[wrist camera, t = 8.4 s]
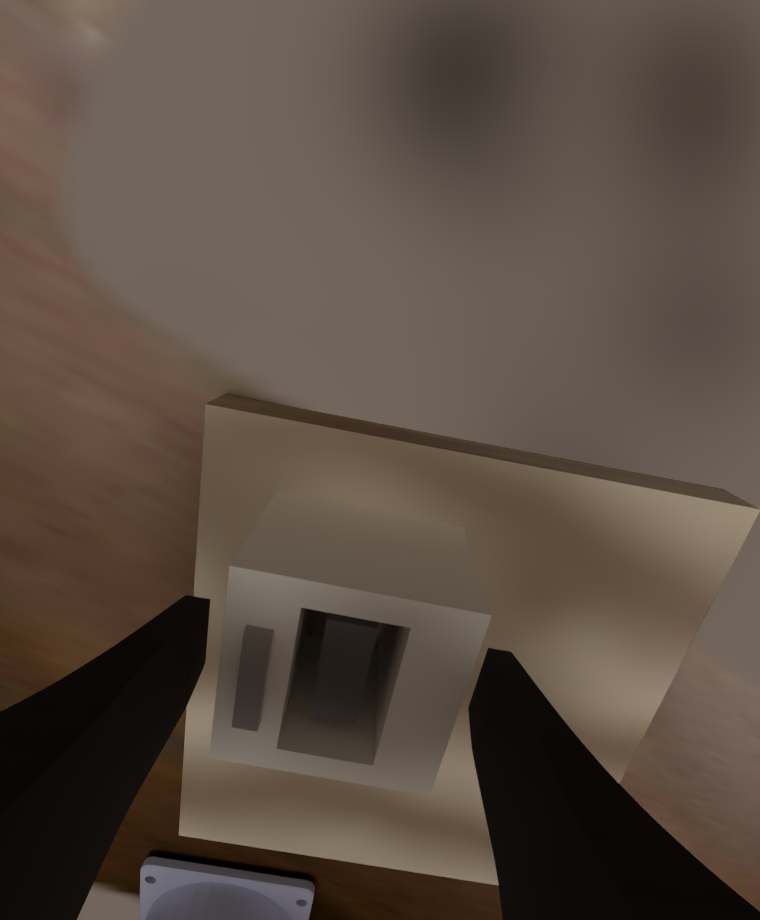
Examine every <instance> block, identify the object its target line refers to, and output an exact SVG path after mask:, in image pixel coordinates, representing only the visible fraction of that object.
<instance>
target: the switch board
mask: <svg viewBox="0 0 760 920" xmlns="http://www.w3.org/2000/svg"><path fill="white" fill-rule="evenodd" d="M277 491H281V492H286V493H291V494H296V495H301V496H306V497H311V498H316V499H321V500H326V501H331V502H336V503H342V504H347V505H352V506H357V507H362V508H367V509H372V510H377V511H382V512H387V513H392V514H397V515H402V516H408V517H413V518H418V519H423V520H428V521H433V522H438V523H443V524H448V525H453V526H458V527H463V528H464V530H465V533H466V536H467V540H468V543H469V546H470V549H471V552H472V555H473V558H474V561H475V564H476V567H477V571H478V574H479V577H480V580H481V583H482V586H483V589H484V592H485V595H486V598H487V602H488V605H489V608H490V611H491V614H492V617H491V620H490V623H489V625H488V628H487V631H486V634H485V637H484V640H483V643H482V646H481V649H480V652H479V655H478V657H477V660H476V663H475V666H474V669H473V672H472V675H471V678H470V681H469V684H468V687H467V689H466V692H465V695H464V698H463V701H462V704H461V707H460V710H459V713H458V716H457V719H456V721H455V724H454V727H453V730H452V733H451V736H450V739H449V742H448V745H447V748H446V751H445V753H444V756H443V759H442V762H441V765H440V768H439V771H438V774H437V777H436V780H435V783H434V785H433V788H432V791H431V794H430V796H426V795H420V794H414V793H408V792H403V791H397V790H391V789H385V788H380V787H374V786H368V785H362V784H356V783H351V782H345V781H339V780H333V779H327V778H322V777H316V776H310V775H304V774H299V773H293V772H287V771H281V770H275V769H270V768H264V767H258V766H252V765H246V764H241V763H235V762H229V761H223V760H217V759H212V758H209V754H210V744H211V735H212V726H213V716H214V707H215V698H216V688H217V679H218V670H219V660H220V651H221V642H222V632H223V623H224V614H225V604H226V595H227V586H228V576H229V567H230V564H231V563H232V561H233V560H234V558H235V556H236V555H237V553H238V552H239V550H240V549H241V547H242V545H243V544H244V542H245V541H246V539H247V538H248V536H249V534H250V533H251V531H252V530H253V528H254V527H255V525H256V523H257V522H258V520H259V519H260V517H261V516H262V514H263V512H264V511H265V509H266V508H267V506H268V505H269V503H270V501H271V500H272V498H273V497H274V495H275V494H276V492H277ZM759 512H760V509H759V508H757V507H755V506H753V505H751V504H750V503H748V502H746V501H744V500H742V499H740V498H739V497H737V496H734V495H733V494H731V493H729V492H728V491H726V490H724V489H718V488H714V487H708V486H703V485H697V484H693V483H687V482H682V481H676V480H672V479H667V478H661V477H656V476H651V475H646V474H640V473H635V472H630V471H624V470H619V469H614V468H609V467H604V466H598V465H593V464H587V463H583V462H578V461H572V460H567V459H562V458H556V457H551V456H546V455H541V454H536V453H530V452H525V451H520V450H514V449H509V448H504V447H499V446H494V445H488V444H483V443H478V442H473V441H467V440H462V439H457V438H452V437H447V436H441V435H436V434H431V433H426V432H420V431H415V430H410V429H405V428H399V427H394V426H389V425H384V424H378V423H373V422H368V421H363V420H358V419H352V418H347V417H341V416H337V415H331V414H326V413H321V412H316V411H311V410H305V409H300V408H295V407H290V406H284V405H279V404H274V403H269V402H263V401H258V400H253V399H248V398H243V397H237V396H232V395H227V394H224V395H222V396H220V397H218V398H216V399H214V400H213V401H211V402H209V403H207V404H205V420H204V436H203V452H202V469H201V485H200V501H199V517H198V533H197V549H196V565H195V581H194V596H195V597H200V598H206V599H210V610H209V623H208V636H207V648H206V661H205V665H204V668H203V670H202V672H201V675H200V677H199V679H198V682H197V684H196V687H195V689H194V691H193V693H192V696H191V698H190V700H189V702H188V704H187V710H186V727H185V743H184V759H183V775H182V791H181V807H180V823H179V835H180V836H186V837H193V838H199V839H206V840H212V841H218V842H225V843H231V844H237V845H244V846H250V847H257V848H263V849H269V850H276V851H282V852H289V853H295V854H301V855H308V856H314V857H321V858H327V859H333V860H340V861H346V862H352V863H359V864H365V865H372V866H378V867H384V868H391V869H397V870H404V871H410V872H416V873H423V874H429V875H435V876H442V877H448V878H455V879H461V880H467V881H474V882H480V883H487V884H493V885H499V884H498V878H497V872H496V866H495V860H494V855H493V850H492V845H491V840H490V836H489V831H488V826H487V821H486V816H485V812H484V807H483V802H482V797H481V793H480V788H479V783H478V778H477V773H476V768H475V763H474V758H473V753H472V745H471V735H470V723H469V711H468V707H469V704H470V701H471V698H472V695H473V692H474V689H475V686H476V683H477V680H478V677H479V674H480V671H481V668H482V665H483V662H484V659H485V656H486V653H487V650H488V648H492V649H498V650H504V651H510V652H512V653H513V655H514V656H515V657H516V659H517V660H518V661H519V662H520V664H521V665H522V666H523V668H524V669H525V670H526V672H527V673H528V674H529V676H530V677H531V678H532V680H533V681H534V682H535V684H536V685H537V686H538V688H539V689H540V690H541V692H542V693H543V694H544V696H545V697H546V698H547V699H548V701H549V702H550V703H551V705H552V706H553V707H554V709H555V710H556V711H557V712H558V714H559V715H560V716H561V717H562V719H563V720H564V721H565V722H566V724H567V725H568V726H569V727H570V729H571V730H572V731H573V732H574V733H575V735H576V736H577V737H578V738H579V739H580V741H581V742H582V743H583V744H584V745H585V746H586V748H587V749H588V750H589V751H590V752H591V753H592V754H593V756H594V757H595V758H596V759H597V760H598V761H599V763H600V764H601V765H602V766H603V767H604V768H605V769H606V770H607V771H608V773H609V774H610V775H611V776H612V777H613V778H614V779H615V780H616V781H617V782H618V783H620V781H621V779H622V777H623V776H624V774H625V772H626V770H627V768H628V766H629V764H630V762H631V760H632V758H633V756H634V754H635V752H636V750H637V748H638V746H639V744H640V743H641V741H642V739H643V737H644V735H645V733H646V731H647V729H648V727H649V725H650V723H651V721H652V719H653V717H654V715H655V713H656V712H657V710H658V708H659V706H660V704H661V702H662V700H663V698H664V696H665V694H666V692H667V690H668V688H669V686H670V684H671V682H672V680H673V679H674V677H675V675H676V673H677V671H678V669H679V667H680V665H681V663H682V661H683V659H684V657H685V655H686V653H687V651H688V649H689V647H690V646H691V644H692V642H693V640H694V638H695V636H696V633H697V632H698V630H699V628H700V626H701V624H702V622H703V620H704V618H705V616H706V615H707V613H708V611H709V609H710V607H711V605H712V602H713V601H714V599H715V597H716V595H717V593H718V591H719V589H720V587H721V585H722V583H723V582H724V580H725V577H726V576H727V574H728V572H729V570H730V568H731V566H732V564H733V562H734V560H735V558H736V556H737V554H738V552H739V550H740V549H741V547H742V545H743V543H744V540H745V539H746V537H747V535H748V533H749V531H750V529H751V527H752V525H753V523H754V521H755V519H756V517H757V516H758V514H759ZM383 627H384V623H381V622H375V621H370V620H365V619H359V618H354V617H349V616H343V615H338V614H333V613H327V612H322V611H317V610H311V614H310V620H309V625H308V630H307V635H309V636H315V637H320V638H323V643H322V648H321V654H320V659H319V665H318V670H317V676H316V681H315V687H314V692H313V698H312V703H311V709H310V714H309V717H312V718H318V719H324V720H330V721H336V722H342V723H348V724H354V725H356V724H357V719H358V715H359V710H360V706H361V702H362V697H363V693H364V689H365V684H366V680H367V675H368V671H369V667H370V662H371V658H372V654H373V649H374V648H378V647H379V643H380V639H381V635H382V631H383Z"/></svg>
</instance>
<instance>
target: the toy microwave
mask: <svg viewBox="0 0 760 920" xmlns="http://www.w3.org/2000/svg"><path fill="white" fill-rule="evenodd" d="M311 610H317V611H322V612H327V613H333V614H338V615H343V616H349V617H354V618H359V619H365V620H370V621H375V622H381V623H384V627H383V631H382V635H381V639H380V643H379V647H378V648H374V649H373V654H372V658H371V662H370V667H369V671H368V675H367V680H366V684H365V689H364V693H363V697H362V702H361V706H360V710H359V715H358V719H357V724H356V725H354V724H348V723H342V722H336V721H330V720H324V719H318V718H312V717H309V714H310V709H311V703H312V698H313V692H314V687H315V681H316V676H317V670H318V665H319V659H320V654H321V648H322V643H323V638H320V637H315V636H309V635H307V630H308V625H309V620H310V614H311ZM491 617H492V614H491V611H490V608H489V605H488V602H487V598H486V595H485V592H484V589H483V586H482V583H481V580H480V577H479V574H478V571H477V567H476V564H475V561H474V558H473V555H472V552H471V549H470V546H469V543H468V540H467V536H466V533H465V530H464V528H463V527H458V526H453V525H448V524H443V523H438V522H433V521H428V520H423V519H418V518H413V517H408V516H402V515H397V514H392V513H387V512H382V511H377V510H372V509H367V508H362V507H357V506H352V505H347V504H342V503H336V502H331V501H326V500H321V499H316V498H311V497H306V496H301V495H296V494H291V493H286V492H281V491H277V492H276V494H275V495H274V497H273V498H272V500H271V501H270V503H269V505H268V506H267V508H266V509H265V511H264V512H263V514H262V516H261V517H260V519H259V520H258V522H257V523H256V525H255V527H254V528H253V530H252V531H251V533H250V534H249V536H248V538H247V539H246V541H245V542H244V544H243V545H242V547H241V549H240V550H239V552H238V553H237V555H236V556H235V558H234V560H233V561H232V563H231V564H230V567H229V576H228V586H227V595H226V604H225V614H224V623H223V632H222V642H221V651H220V660H219V670H218V679H217V688H216V698H215V707H214V716H213V726H212V735H211V744H210V754H209V758H212V759H217V760H223V761H229V762H235V763H241V764H246V765H252V766H258V767H264V768H270V769H275V770H281V771H287V772H293V773H299V774H304V775H310V776H316V777H322V778H327V779H333V780H339V781H345V782H351V783H356V784H362V785H368V786H374V787H380V788H385V789H391V790H397V791H403V792H408V793H414V794H420V795H426V796H430V794H431V791H432V788H433V785H434V783H435V780H436V777H437V774H438V771H439V768H440V765H441V762H442V759H443V756H444V753H445V751H446V748H447V745H448V742H449V739H450V736H451V733H452V730H453V727H454V724H455V721H456V719H457V716H458V713H459V710H460V707H461V704H462V701H463V698H464V695H465V692H466V689H467V687H468V684H469V681H470V678H471V675H472V672H473V669H474V666H475V663H476V660H477V657H478V655H479V652H480V649H481V646H482V643H483V640H484V637H485V634H486V631H487V628H488V625H489V623H490V620H491Z"/></svg>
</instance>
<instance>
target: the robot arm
mask: <svg viewBox="0 0 760 920" xmlns="http://www.w3.org/2000/svg"><path fill="white" fill-rule="evenodd" d="M209 610H210V599H206V598H200V597H195V596H189V595H186V596H184V597H183V598H181V599H180V600H178V601H177V602H175V603H174V604H173V605H171V606H170V607H169V608H167V609H166V610H164V611H163V612H162V613H160V614H159V615H158V616H156V617H155V618H153V619H152V620H151V621H149V622H148V623H146V624H145V625H144V626H142V627H141V628H139V629H138V630H137V631H135V632H134V633H132V634H131V635H129V636H128V637H126V638H125V639H123V640H122V641H121V642H119V643H118V644H116V645H115V646H113V647H112V648H110V649H109V650H107V651H106V652H104V653H103V654H101V655H99V656H98V657H96V658H95V659H93V660H91V661H90V662H88V663H87V664H85V665H84V666H82V667H80V668H79V669H77V670H76V671H74V672H72V673H71V674H69V675H67V676H66V677H64V678H62V679H61V680H59V681H57V682H55V683H54V684H52V685H50V686H48V687H47V688H45V689H43V690H41V691H39V692H37V693H36V694H34V695H32V696H30V697H28V698H26V699H24V700H23V701H21V702H19V703H17V704H15V705H13V706H11V707H9V708H7V709H5V710H3V711H1V712H0V920H77V917H78V915H79V913H80V911H81V909H82V906H83V904H84V902H85V900H86V898H87V896H88V893H89V891H90V889H91V887H92V885H93V882H94V880H95V878H96V876H97V874H98V871H99V869H100V867H101V865H102V863H103V861H104V859H105V856H106V854H107V852H108V850H109V848H110V846H111V844H112V842H113V839H114V837H115V835H116V833H117V831H118V829H119V827H120V825H121V822H122V821H123V819H124V817H125V815H126V813H127V811H128V809H129V807H130V805H131V803H132V802H133V800H134V798H135V796H136V794H137V793H138V791H139V789H140V787H141V786H142V784H143V782H144V780H145V779H146V777H147V775H148V773H149V772H150V770H151V768H152V766H153V765H154V763H155V761H156V759H157V758H158V756H159V754H160V752H161V750H162V749H163V747H164V745H165V743H166V742H167V740H168V738H169V736H170V735H171V733H172V731H173V729H174V728H175V726H176V724H177V722H178V721H179V719H180V717H181V715H182V713H183V712H184V710H185V708H186V706H187V704H188V702H189V700H190V698H191V696H192V693H193V691H194V689H195V687H196V684H197V682H198V679H199V677H200V675H201V672H202V670H203V668H204V665H205V661H206V648H207V636H208V623H209ZM468 711H469V723H470V735H471V745H472V753H473V758H474V763H475V768H476V773H477V778H478V783H479V788H480V793H481V797H482V802H483V807H484V812H485V816H486V821H487V826H488V831H489V836H490V840H491V845H492V850H493V855H494V860H495V866H496V872H497V878H498V884H499V892H500V900H501V908H502V916H503V920H760V912H759V911H758V910H757V909H756V908H754V907H753V906H752V905H751V904H750V903H748V902H747V901H746V900H745V899H744V898H742V897H741V896H740V895H739V894H738V893H736V892H735V891H734V890H733V889H731V888H730V887H729V886H728V885H727V884H725V883H724V882H723V881H722V880H721V879H719V878H718V877H717V876H716V875H715V874H714V873H713V872H711V871H710V870H709V869H708V868H707V867H706V866H704V865H703V864H702V863H701V862H700V861H699V860H698V859H696V858H695V857H694V856H693V855H692V854H691V853H690V852H689V851H688V850H687V849H685V848H684V847H683V846H682V845H681V844H680V843H679V842H678V841H677V840H676V839H675V838H674V837H672V836H671V835H670V834H669V833H668V832H667V831H666V830H665V829H664V828H663V827H662V826H661V825H660V824H658V823H657V822H656V821H655V820H654V819H653V818H652V817H651V816H650V815H649V814H648V813H647V812H646V811H645V810H644V809H643V808H642V807H641V806H640V805H639V804H638V803H637V802H636V801H635V800H634V799H633V798H632V797H631V796H630V795H629V794H628V793H627V792H626V790H625V789H624V788H623V787H622V786H621V785H620V784H619V783H618V782H617V781H616V780H615V779H614V778H613V777H612V776H611V775H610V774H609V773H608V771H607V770H606V769H605V768H604V767H603V766H602V765H601V764H600V763H599V761H598V760H597V759H596V758H595V757H594V756H593V754H592V753H591V752H590V751H589V750H588V749H587V748H586V746H585V745H584V744H583V743H582V742H581V741H580V739H579V738H578V737H577V736H576V735H575V733H574V732H573V731H572V730H571V729H570V727H569V726H568V725H567V724H566V722H565V721H564V720H563V719H562V717H561V716H560V715H559V714H558V712H557V711H556V710H555V709H554V707H553V706H552V705H551V703H550V702H549V701H548V699H547V698H546V697H545V696H544V694H543V693H542V692H541V690H540V689H539V688H538V686H537V685H536V684H535V682H534V681H533V680H532V678H531V677H530V676H529V674H528V673H527V672H526V670H525V669H524V668H523V666H522V665H521V664H520V662H519V661H518V660H517V659H516V657H515V656H514V655H513V653H512V652H510V651H504V650H498V649H492V648H488V650H487V653H486V656H485V659H484V662H483V665H482V668H481V671H480V674H479V677H478V680H477V683H476V686H475V689H474V692H473V695H472V698H471V701H470V704H469V707H468ZM314 891H315V886H314V884H313V883H312V882H310V881H308V880H304V879H298V878H291V877H285V876H278V875H272V874H265V873H259V872H252V871H246V870H240V869H233V868H227V867H220V866H214V865H207V864H201V863H194V862H188V861H181V860H175V859H168V858H162V857H155V856H151V857H148V858H147V859H145V861H144V863H143V865H142V867H141V870H140V916H139V917H140V918H139V920H309V916H310V911H311V907H312V902H313V898H314Z"/></svg>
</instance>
